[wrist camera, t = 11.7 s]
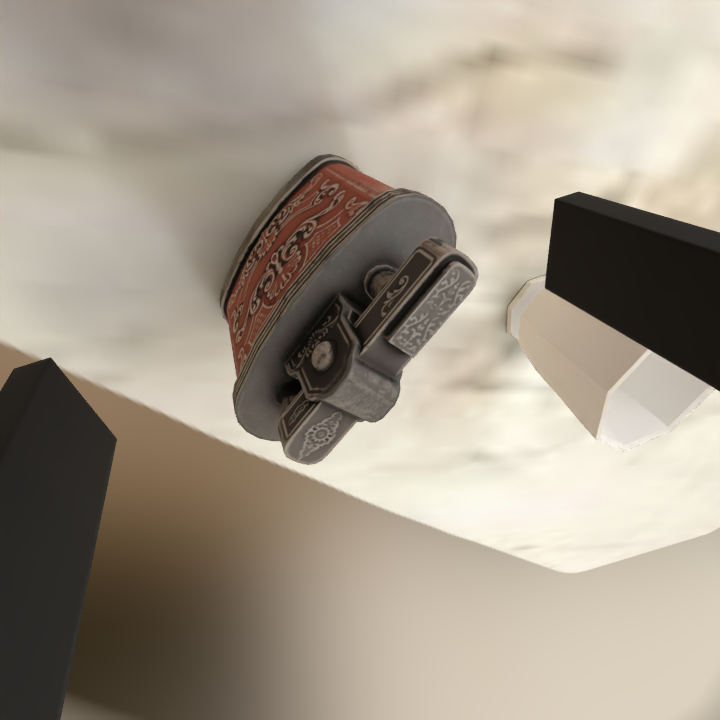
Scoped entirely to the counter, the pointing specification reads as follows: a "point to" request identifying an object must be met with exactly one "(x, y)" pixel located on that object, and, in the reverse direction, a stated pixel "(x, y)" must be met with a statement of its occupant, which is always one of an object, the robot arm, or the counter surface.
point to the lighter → (336, 303)
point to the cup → (601, 370)
